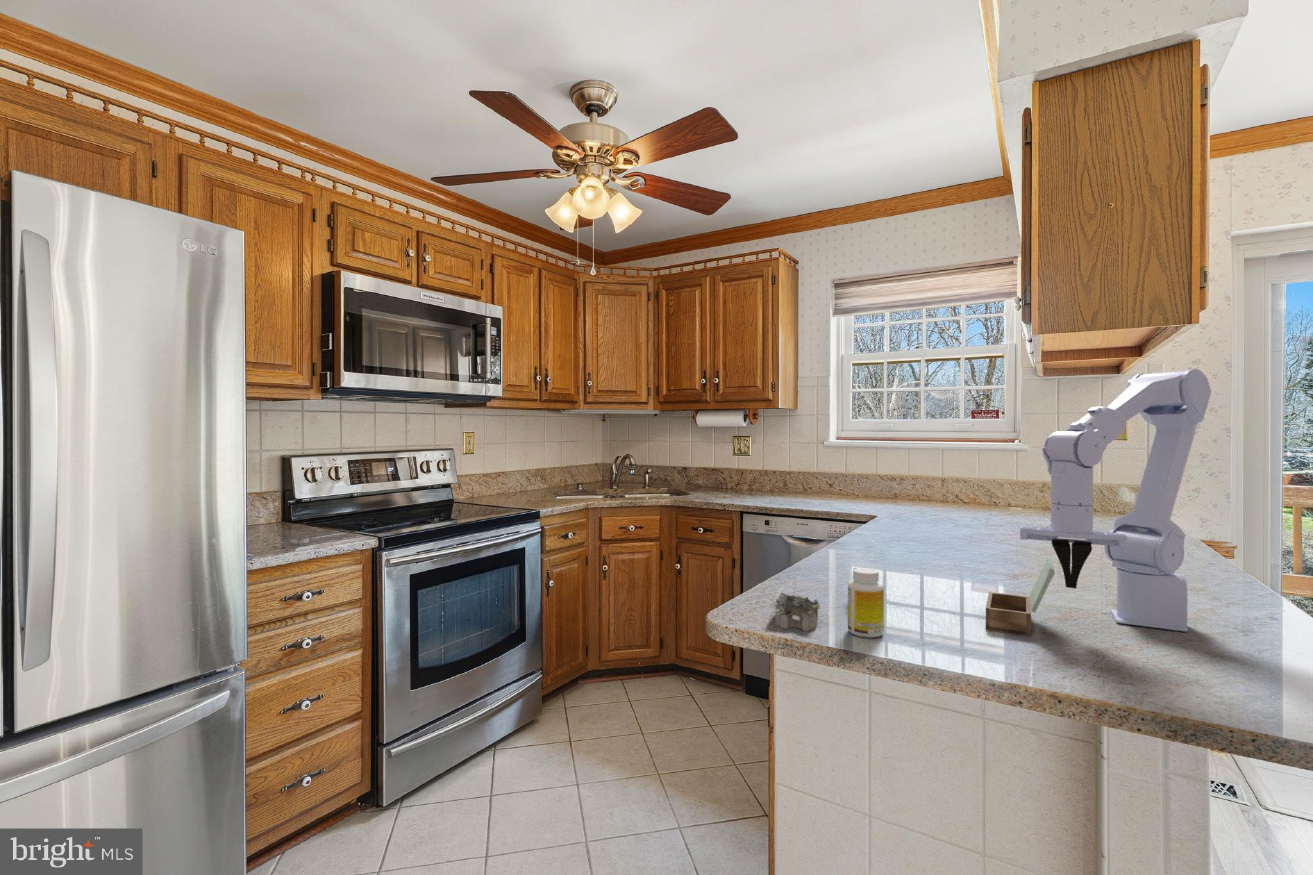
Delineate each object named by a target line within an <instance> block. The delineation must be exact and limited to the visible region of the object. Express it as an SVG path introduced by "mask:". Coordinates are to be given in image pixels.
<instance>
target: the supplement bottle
mask: <svg viewBox="0 0 1313 875" xmlns="http://www.w3.org/2000/svg"><path fill="white" fill-rule="evenodd" d="M879 581H880V576H879V571H878V570H877V569H874V568H866V567H864V568H863V567H858V568H857V569H854V570H853V569H852V580H850V581H849V582H848V584H847V629H848V631H849V633H850V634H852V635H854V636H856V637H861V638H871V639H872V638H878V637H881V636H882V635H883V634H884V630H885V624H884V622H885V619H884V616H885V614H884V611H885V608H884V606H885V604H884V602H885V600H884V599H885V597H884V596H885V594H884V592H885V588H884V585H883V583H881V582H879Z"/></svg>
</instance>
